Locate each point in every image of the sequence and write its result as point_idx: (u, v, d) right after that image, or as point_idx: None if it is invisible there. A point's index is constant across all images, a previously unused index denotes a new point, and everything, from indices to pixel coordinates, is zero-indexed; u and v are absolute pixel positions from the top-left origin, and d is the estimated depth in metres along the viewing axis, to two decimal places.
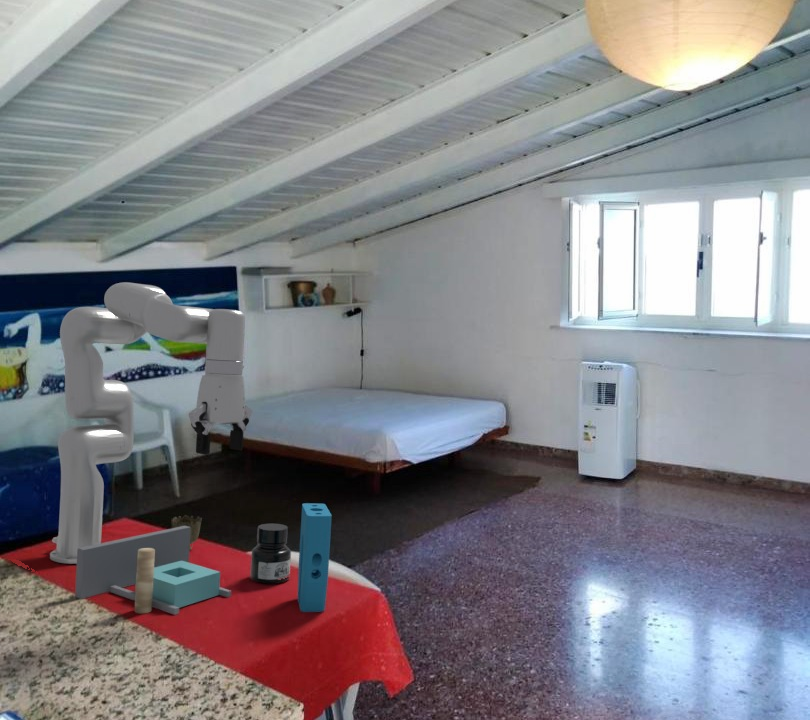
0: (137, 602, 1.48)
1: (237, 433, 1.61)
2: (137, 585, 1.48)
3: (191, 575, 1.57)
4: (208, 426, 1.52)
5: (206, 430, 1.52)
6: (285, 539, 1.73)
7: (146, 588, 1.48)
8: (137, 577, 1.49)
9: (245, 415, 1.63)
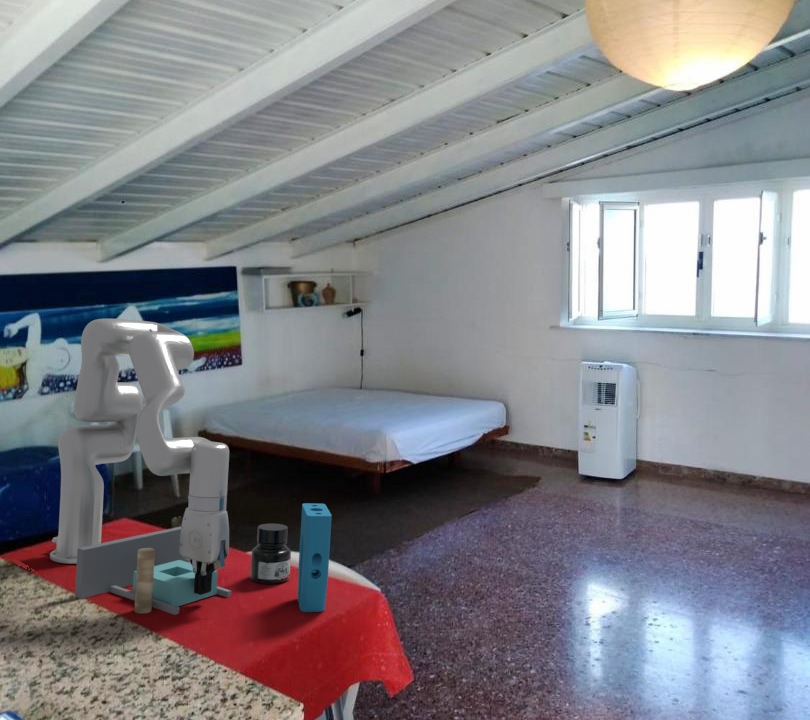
0: (137, 602, 1.48)
1: None
2: (137, 585, 1.48)
3: (188, 574, 1.58)
4: None
5: None
6: (285, 539, 1.73)
7: (146, 588, 1.48)
8: (137, 577, 1.49)
9: None
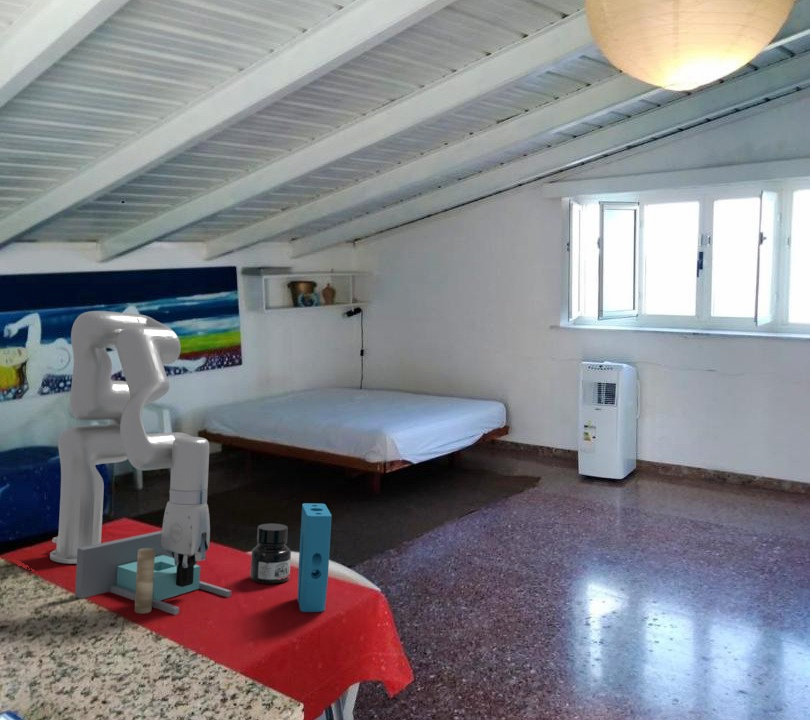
0: (137, 602, 1.48)
1: None
2: (137, 585, 1.48)
3: (171, 569, 1.61)
4: None
5: None
6: (285, 539, 1.74)
7: (146, 588, 1.48)
8: (137, 577, 1.49)
9: None
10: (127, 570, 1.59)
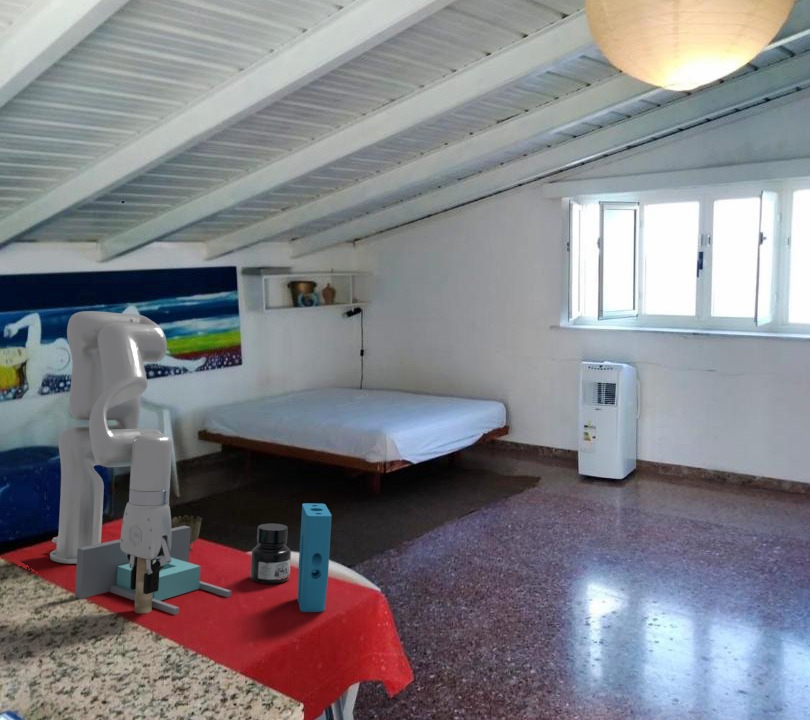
0: (137, 602, 1.48)
1: None
2: (137, 585, 1.48)
3: (171, 569, 1.61)
4: None
5: None
6: (285, 539, 1.73)
7: None
8: (137, 577, 1.49)
9: None
10: (127, 570, 1.59)
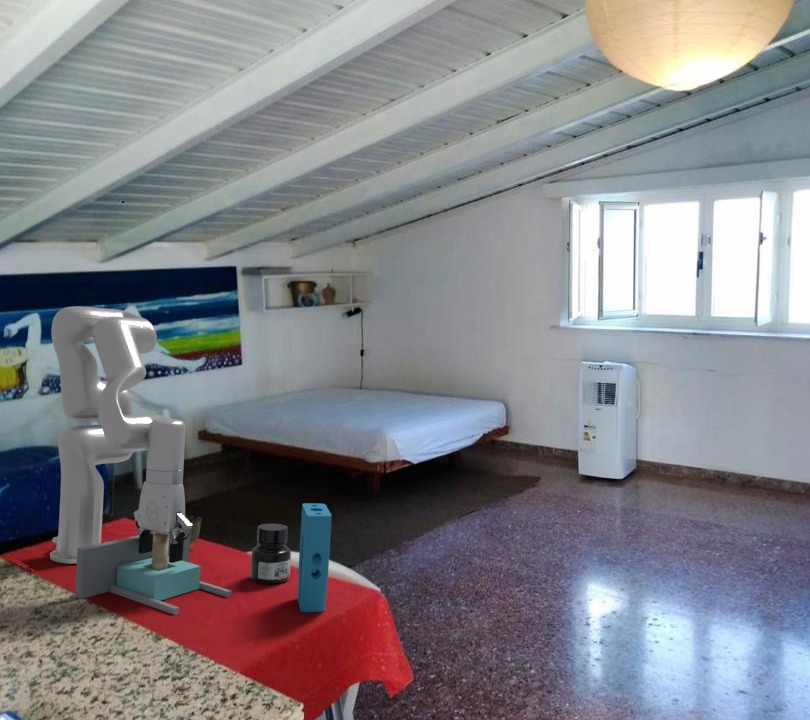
0: None
1: (149, 536, 1.65)
2: (153, 566, 1.61)
3: (171, 569, 1.61)
4: None
5: None
6: (285, 539, 1.73)
7: (161, 569, 1.61)
8: (153, 559, 1.61)
9: None
10: (127, 570, 1.59)
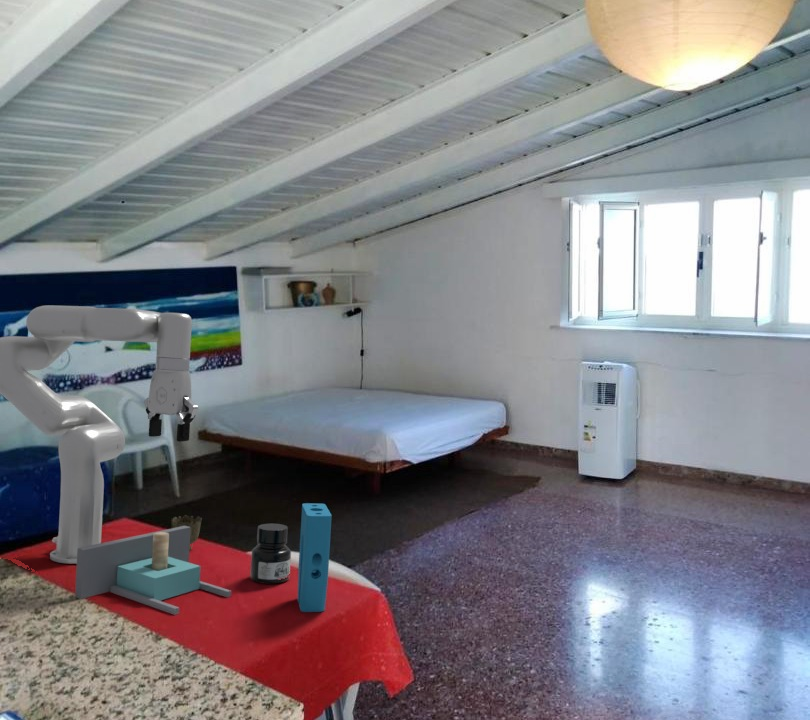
0: None
1: (158, 421, 1.81)
2: (153, 566, 1.61)
3: (171, 569, 1.61)
4: None
5: None
6: (285, 539, 1.73)
7: (161, 569, 1.61)
8: (153, 559, 1.61)
9: None
10: (127, 570, 1.59)
